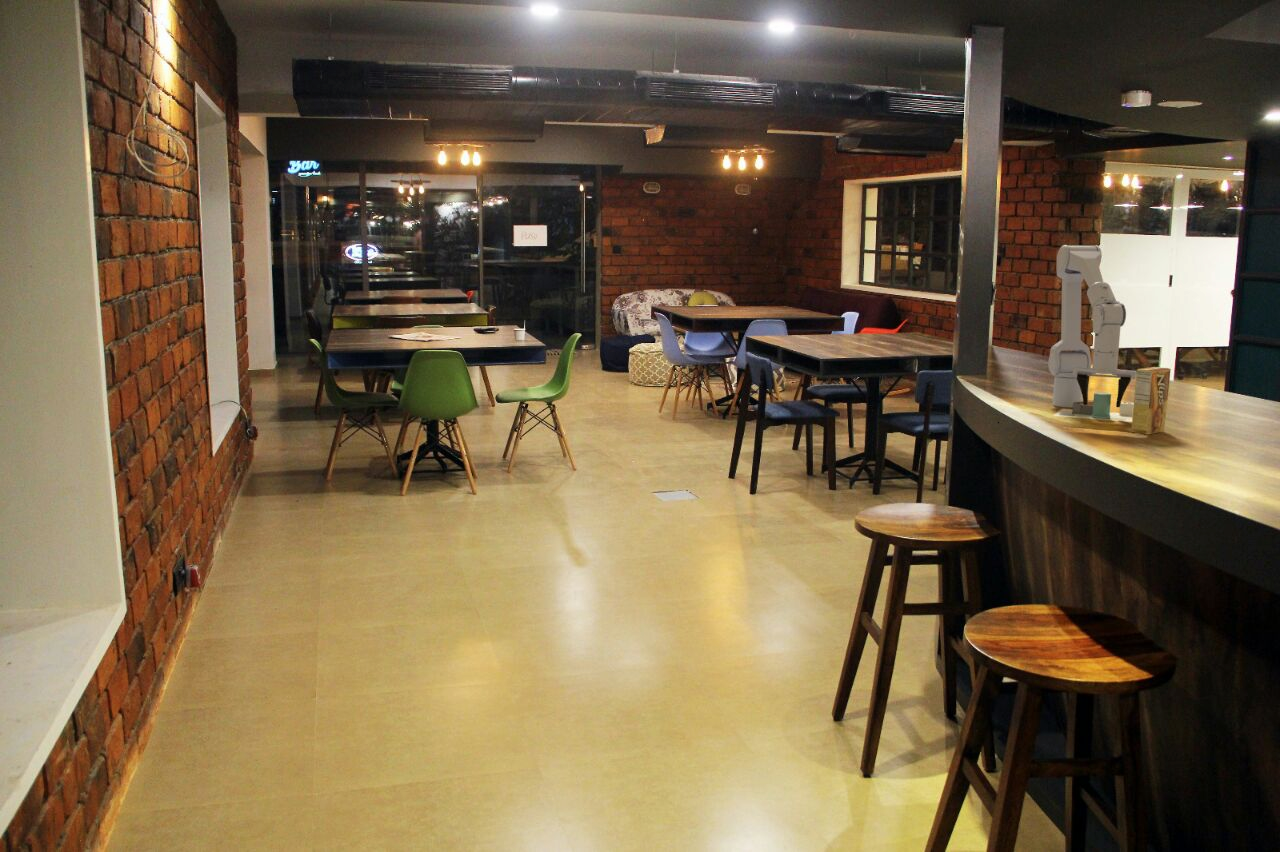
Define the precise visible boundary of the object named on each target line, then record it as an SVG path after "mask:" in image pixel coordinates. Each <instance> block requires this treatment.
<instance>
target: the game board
mask: <svg viewBox="0 0 1280 852" xmlns="http://www.w3.org/2000/svg"><path fill="white" fill-rule="evenodd" d="M1081 404H1083V401H1081V402H1074V403H1073V407H1072V409H1071V408H1061V409H1059V410H1058V411H1056V412H1055V413H1054V414H1053V415H1052V417H1063V418H1064V417H1065V418H1075V419H1087V420H1102V421H1115V422H1126V423H1132V418H1133V407H1134V402H1127V401H1126V402H1125V401H1121V404H1120V407H1119V412H1111V411H1110V419H1098V418H1092V417H1091V415H1092V413H1093V406H1092V405H1081Z"/></svg>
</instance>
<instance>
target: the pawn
mask: <svg viewBox="0 0 1280 852" xmlns="http://www.w3.org/2000/svg"><path fill="white" fill-rule="evenodd" d="M1111 401H1112V394H1111V393H1108V392H1094V393H1093V413H1092V415H1091V417H1092V418H1098V419H1097V420H1099V419H1110V412H1111V403H1112V402H1111Z"/></svg>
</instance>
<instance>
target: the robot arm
mask: <svg viewBox="0 0 1280 852" xmlns="http://www.w3.org/2000/svg"><path fill="white" fill-rule="evenodd" d="M1102 256H1103V254H1102V250H1101V248H1100V247H1099V246H1098V245H1096V244H1095V245H1067V244H1063V245H1062V246H1060V247H1059V250H1058V252H1057V254H1056V276H1057V277H1058V278H1060V279H1061V320H1060V321H1061V325H1060V326H1061V332H1060V333H1061V335H1060V336H1061V338H1060V340H1059V341H1058V342H1056V343H1054V345H1052V346H1051V348H1050V350H1049V357H1048V361H1047V362H1048V363H1047V367H1048V371H1049V373H1050V374H1051V375H1052V376H1053V377H1054V379H1053V389H1052V390H1053V392H1052V393H1053V394H1052V406H1055V407H1060V408H1073V403H1074V402H1083V405H1087V403H1088V400H1089V384H1090V383H1089V382H1090V377H1098V378H1115V379H1118V382H1117V384H1118V385H1117V386H1118V387H1117V398H1116V408H1120V404H1121V402H1122V400H1123V397H1124V394H1125V393H1126V390H1127V388H1128V386H1129V385H1130V383H1131V381H1132V380H1136V376H1137V370H1128V369H1118V361H1119V349H1120V340H1121V338H1120V337H1121V327H1123V326H1124V325H1125V323H1126V318H1127V310H1126V306H1125V305H1124V303H1122V302H1120V301H1119V300H1118V301H1117V299H1116V296H1115V294H1114V292H1113V290H1112V287H1111V286H1110V284H1109V283H1108V282H1105V281H1104V279H1103V276H1102V272H1101V269H1100V266H1101V263H1102V258H1103V257H1102ZM1083 281H1085V284H1086V285H1087V286H1088V288H1087V291H1086V296H1087V298H1088V301H1089V303H1090V305H1091V308H1092V314H1091V320H1092V331H1093V333H1094V344H1093V354H1092V355H1093V356H1092V357H1091V352H1090V351H1091V350H1090V346H1088V345H1087V344H1085V343H1084V342H1083V341H1082V339H1081V338H1082V337H1081V335H1082V334H1081V333H1082V332H1081V330H1082V283H1083Z"/></svg>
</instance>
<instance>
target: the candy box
mask: <svg viewBox="0 0 1280 852" xmlns="http://www.w3.org/2000/svg"><path fill="white" fill-rule="evenodd" d="M1171 369H1172V368H1168V367H1160V366H1159V367H1158V366H1153V367H1151V366H1150V367H1144V368H1143V367H1142V368H1137V369H1136V379H1135V389H1134V399H1133V403H1134V407H1133V418H1132V422H1131V430H1136V431H1131V432H1132V433H1131V434H1135V433H1140V434H1139V435H1143V434H1146V435H1145V436H1147V434H1149V435H1152V434H1158V433H1163V431H1164V432H1165V428H1166V418H1167V409H1168V400H1169V398H1168V397H1169V389H1170V381H1171ZM1137 431H1143V432H1137Z"/></svg>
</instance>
